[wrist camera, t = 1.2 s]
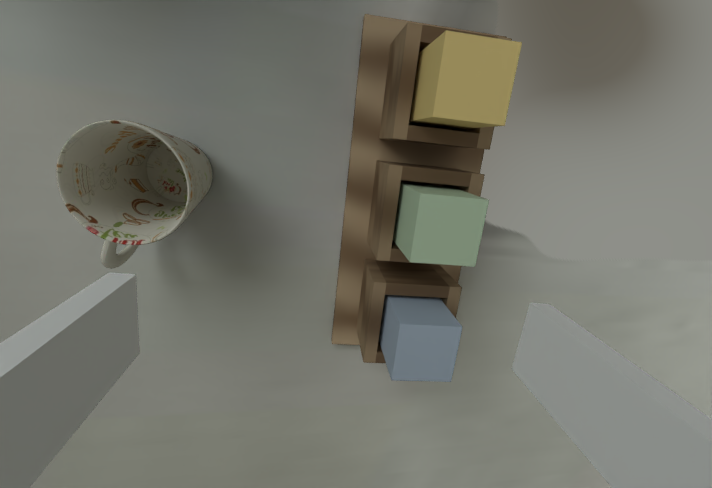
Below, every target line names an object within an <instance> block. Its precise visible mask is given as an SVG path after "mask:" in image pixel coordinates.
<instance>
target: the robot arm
mask: <svg viewBox="0 0 712 488" xmlns="http://www.w3.org/2000/svg"><path fill="white" fill-rule="evenodd" d="M139 353H140V349H139V328H138V306H137V285H136V274H123V273H107V274H106V275H104V276H103V277H101V278H100V279H98V280H97V281H95V282H94V283H92V284H90V285H89V286H87V287H86V288H84V289H83V290H81V291H80V292H78V293H77V294H75V295H74V296H72V297H70V298H69V299H67V300H66V301H64V302H63V303H61V304H60V305H58V306H57V307H55V308H54V309H52V310H51V311H49V312H47V313H46V314H44V315H43V316H41V317H40V318H38V319H37V320H35V321H34V322H32V323H31V324H29V325H28V326H26V327H24V328H23V329H21V330H20V331H18V332H17V333H15V334H14V335H12V336H11V337H9V338H8V339H6V340H4V341H3V342H1V343H0V488H30V487H31V485H32V484H33V483H34V482H35V480H36V479H37V478H38V477H39V476H40V474H41V473H42V472H43V471H44V469H45V468H46V467H47V466H48V464H49V463H50V462H51V461H52V460H53V458H54V457H55V456H56V455H57V453H58V452H59V451H60V450H61V449H62V447H63V446H64V445H65V444H66V442H67V441H68V440H69V439H70V438H71V436H72V435H73V434H74V433H75V431H76V430H77V429H78V428H79V427H80V425H81V424H82V423H83V422H84V420H85V419H86V418H87V417H88V416H89V414H90V413H91V412H92V411H93V409H94V408H95V407H96V406H97V405H98V403H99V402H100V401H101V400H102V398H103V397H104V396H105V395H106V394H107V392H108V391H109V390H110V389H111V387H112V386H113V385H114V384H115V383H116V381H117V380H118V379H119V378H120V376H121V375H122V374H123V373H124V372H125V370H126V369H127V368H128V367H129V365H130V364H131V363H132V362H133V361H134V359H135V358H136V357H137V356H138V354H139ZM512 370H513V371H514V373H515V374H516V375H517V376H518V377H519V378H520V380H521V381H522V382H523V383H524V384H525V386H526V387H527V388H528V389H529V390H530V391H531V393H532V394H533V395H534V396H535V397H536V399H537V400H538V401H539V402H540V403H541V404H542V406H543V407H544V408H545V409H546V410H547V411H548V413H549V414H550V415H551V416H552V417H553V419H554V420H555V421H556V422H557V423H558V424H559V426H560V427H561V428H562V429H563V430H564V432H565V433H566V434H567V435H568V436H569V437H570V439H571V440H572V441H573V442H574V443H575V445H576V446H577V447H578V448H579V449H580V450H581V452H582V453H583V454H584V455H585V456H586V457H587V459H588V460H589V461H590V462H591V463H592V465H593V466H594V467H595V468H596V469H597V470H598V472H599V473H600V474H601V475H602V476H603V478H604V479H605V480H606V481H607V482H608V483H609V485H610V486H611V487H612V488H712V419H711V418H710V417H708V416H707V415H706V414H704V413H703V412H701V411H700V410H698V409H697V408H696V407H694V406H693V405H691V404H690V403H689V402H687V401H686V400H684V399H683V398H682V397H680V396H679V395H677V394H676V393H675V392H673V391H672V390H670V389H669V388H667V387H666V386H665V385H663V384H662V383H660V382H659V381H658V380H656V379H655V378H653V377H652V376H651V375H649V374H648V373H646V372H645V371H644V370H642V369H641V368H639V367H638V366H636V365H635V364H634V363H632V362H631V361H629V360H628V359H627V358H625V357H624V356H622V355H621V354H620V353H618V352H617V351H615V350H614V349H612V348H611V347H610V346H608V345H607V344H605V343H604V342H603V341H601V340H600V339H598V338H597V337H596V336H594V335H593V334H591V333H590V332H589V331H587V330H586V329H584V328H583V327H581V326H580V325H579V324H577V323H576V322H574V321H573V320H572V319H570V318H569V317H567V316H566V315H565V314H563V313H562V312H560V311H559V310H557V309H556V308H555V307H553V306H552V305H550V304H544V303H530V304H529V308H528V312H527V315H526V319H525V322H524V326H523V329H522V333H521V336H520V340H519V344H518V347H517V351H516V354H515V358H514V361H513V365H512Z"/></svg>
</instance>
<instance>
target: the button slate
mask: <svg viewBox="0 0 712 488" xmlns="http://www.w3.org/2000/svg"><path fill="white" fill-rule="evenodd" d="M461 332H462V326H461V324H460V323H459V322H458V321H457V319H456V318H455V317H454V315H453V314H452V313H451V312H450V310H449V309H448V308H447V306H446V305H445V304H444V303H443V301H442V300H441V299H440V298H438V297H420V296H402V295H385V297H384V304H383V311H382V318H381V325H380V333H379V342H380V345H381V349H382V352H383V355H384V358H385V361H386V365H387V368H388V371H389V374H390V377H391V380H400V381H444V382H451V380H452V375H453V370H454V365H455V360H456V356H457V351H458V346H459V341H460V337H461Z"/></svg>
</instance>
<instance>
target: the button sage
mask: <svg viewBox="0 0 712 488" xmlns="http://www.w3.org/2000/svg"><path fill="white" fill-rule="evenodd" d="M488 203H489V200H488V199H485V198H482V197H479V196H476V195H473V194H471V193H468V192H465V191H462V190H459V189H456V188H453V187H445V186H435V185H425V184H415V183H405V182H400V190H399V197H398V204H397V211H396V218H395V225H394V233H393V241H394V242H395V243H396V245H397V246H398V247H399V249H400V250H401V251H402V253H403V254H404V255H405V257H406V258H407V259H408V260H409V262H414V263H428V264H443V265H458V266H472V267H475V265H476V260H477V255H478V251H479V246H480V241H481V236H482V231H483V227H484V222H485V217H486V212H487V207H488Z"/></svg>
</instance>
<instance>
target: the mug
mask: <svg viewBox="0 0 712 488" xmlns="http://www.w3.org/2000/svg"><path fill="white" fill-rule="evenodd" d="M56 176H57V184H58V188H59V192H60V195H61V197H62V199H63V202H64V204H65V205H66V207H67V209H68V210H69V211H70V213H71V214H72V215H73V217H74V218H75V219H76V220H77V221H78V222H79V223H80V224H81V225H82V226H84V227H85V228H86V229H87V230H89V231H90V232H92V233H93V234H95V235H97V236H99V237H101V238H103V239H105V242H104V245H103V248H102V252H101V261H102V264H103V265H104V266H105V267H106V268H110V269H112V268H116V267H119V266H120V265H122V264H123V263H124V262H125V261H127V260H128V259H129V257H130V256H131V255H132V254H133V253H134V252H135V250H136V249H137V247H138V246H139V245H143V244H149V243H153V242H156V241H158V240H161V239H163V238H165V237H167V236H168V235H170V234H171V233H173V232H174V231H175V230H176V229H177V228H178V227H179V226H180V225H181V224H182V223H183V222H184V221H185V220H186V218H187V217H188V216H189V215H190V213H191V212H192V211H193V210H194V209H195V207H196V206H197V205H198V204H199V203H200V201H201V200H202V199H203V198H204V196H205V195H206V194H207V192H208V191H209V189H210V186H211V183H212V168H211V165H210V162H209V160H208V158H207V157H206V155H205V154H204V153H203V152H202V151H201V150H200V149H199V148H198V147H197V146H195V145H194V144H192V143H190V142H188V141H185V140H183V139H180V138H177V137H175V136H172V135H169V134H167V133H164V132H161V131H159V130H156V129H153V128H150V127H148V126H145V125H142V124H139V123H135V122H131V121H125V120H104V121H99V122H95V123H92V124H89V125H87V126H85V127H83V128H81V129H80V130H78V131H77V132H75V133H74V134H73V135H72V136H71V137H70V138H69V139H68V140H67V142H66V143H65V144H64V146H63V148H62V150H61V152H60V155H59V157H58V162H57V169H56ZM118 243H119V244H125V245H127V246H126V247H125V248H124V249H123V250H122V251H121V252H120V253H118V254H116V247H117V244H118Z"/></svg>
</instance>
